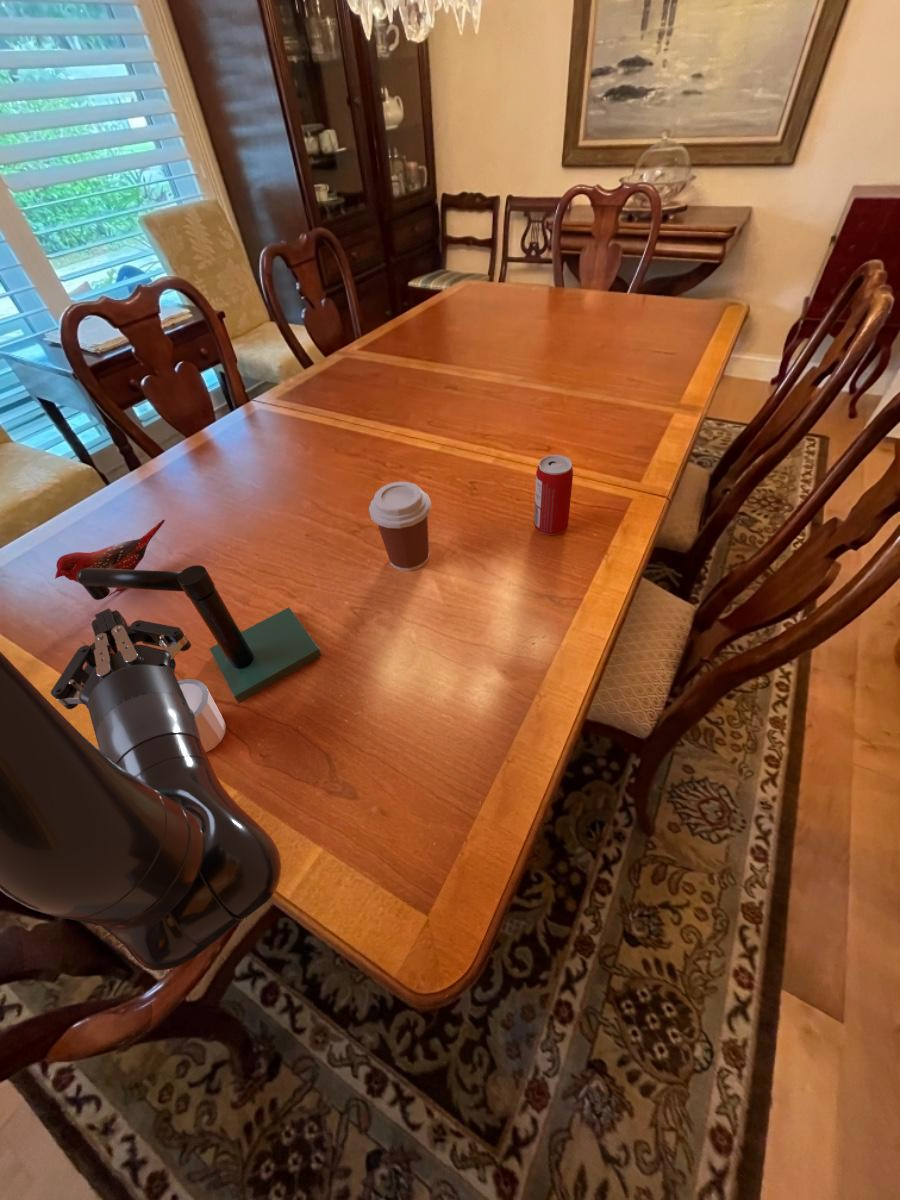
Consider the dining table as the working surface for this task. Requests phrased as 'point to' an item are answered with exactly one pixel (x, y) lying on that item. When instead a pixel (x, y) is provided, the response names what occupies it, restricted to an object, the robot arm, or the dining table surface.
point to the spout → (147, 581)
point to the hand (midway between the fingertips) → (106, 616)
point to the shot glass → (204, 712)
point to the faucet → (255, 647)
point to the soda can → (553, 494)
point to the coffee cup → (403, 523)
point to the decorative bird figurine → (106, 557)
